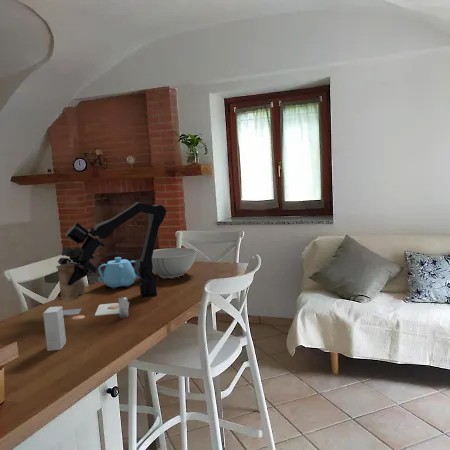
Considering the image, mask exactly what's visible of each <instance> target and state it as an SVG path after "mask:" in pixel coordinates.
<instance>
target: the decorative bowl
mask: <svg viewBox="0 0 450 450" xmlns="http://www.w3.org/2000/svg"><path fill="white" fill-rule="evenodd" d="M197 251H198V250H197V249H195V248H189V247H172V248H171V247H170V248H160V249H154V251H153V256H152V264H153V269H152V272H153V273H154V274H155V275H157V276H158V277H159V278H160V277H161V279H166V278H170V279H175V278H174V277H178V278H180V277H179V276H182V275H183V276H184V275H185V273H187V272H188V271H189V270H190V268H191V267H192V266H193V264H194V262H195V260H196V257H197ZM183 276H182V277H183Z"/></svg>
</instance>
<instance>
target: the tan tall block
mask: <svg viewBox="0 0 450 450" xmlns="http://www.w3.org/2000/svg"><path fill="white" fill-rule="evenodd" d="M74 265H76V264H70V263H67V264H63V265H60V264H59V265H55V267H56V269H57V272H58V274H57V275H58V281H59V283H58V284H59V290H60V298H61V301H62V302H67V303H70V302H72V301H75V300H79V295H78V290H77V281H76V282H75V283H73V284H72V285H68V282H69V280H70V278H71V277H72V275H73V273H74Z"/></svg>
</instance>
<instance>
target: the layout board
mask: <svg viewBox="0 0 450 450" xmlns="http://www.w3.org/2000/svg"><path fill="white" fill-rule="evenodd" d="M130 303H131V302H130V301H128V309H129V306H130ZM81 311H82V308H76V309H75V308H74V309H64V310H63V317H64V316H71V315H72V316H73V315H75V316H73V317H71V320H74V321H77V320H83V319H85V318H86V316H85V315H80V312H81ZM106 315H107V316H108V315H120V313H119V302H113V303H102V304H99V305H98V307H97V309H96V312H95V314H94V316H95V317H97V316H98V317H99V316H106Z"/></svg>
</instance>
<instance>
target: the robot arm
mask: <svg viewBox="0 0 450 450" xmlns="http://www.w3.org/2000/svg"><path fill="white" fill-rule="evenodd" d="M140 213H144V214H147V220H148V226H147V230H146V233H145V234H146V235H145V240H144V244H143V249H142V252H141V256H140V258H139V259H137V258H136V259H135V260H134V261H135V263H134V266H133V269H134V271H135V274H136V276H138V278H139V280H140V284H139V291H140V293H139V294H140V295H141V297H142V298H143V297H156V296H158V290H157V282H158V279H159V275H158V274H156V273H155V272H153V271H152V269H153V264H152V256H153V251H154V250H155V246H156V243H157V238H158V233H159V229H160V226H161V224H162V223H163V222H164V220H165V218H166V215H167V209H166V206H164V205H162V204H148V203H147V204H146V203H143V202H140V201H139V202H138V201H136V202H134V204H132V205H131V206H129V207H128V208H126V209H124V210H123V211H121V212H119V213H118V214H117V215H115V216H114V217H112V218H109V219H107V220H105V221H104V220H103V221H102V222H99V223H97V224H95V225H94V226H93V227H92V228H91V227H90V228H88V229H87V228H85V227H84V226H82V225H81V224H80V223H79V222H75V223H74V224H73V225H72V226H71V227H69V228H68V230H67V231H66V233H65V235H64V236H65V237H67V239H69V240H71V241H72V242H74V243H75V244H77V245H78V244H81V246H79V247H78V246H73V247H72V248H71V247H66V246H64V247H62V250H61V256H63V257H60V258H59V259H58V261H57V263H58V264H59V265H63V264H67V263H70V264H76V265H74V273H73V275H72V277H71V278H70V280H69V282H68V285H72V284H73V283H75V282H76V281H78V280H80V279H84V278H85V277H86V276H89V275H96V273H97V272H98V267H97V266H96V265H95V264H94V263H93V262H92V261H91V260H93V259H95V256H94V254H95V253H96V251H97V249H99V248H100V249H103V248H105V243H104V240H105V239H108V238H109V236H111V235H112V234H113V233H114V232H115V230H116V229H117V228H119V226H121V225H122V224H125V222H128V221H129V220H131V219H132V218H134V217H135V216H136V215H138V214H140ZM98 238H99V239H100V240H99V239H98ZM64 256H65V257H64Z"/></svg>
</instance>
